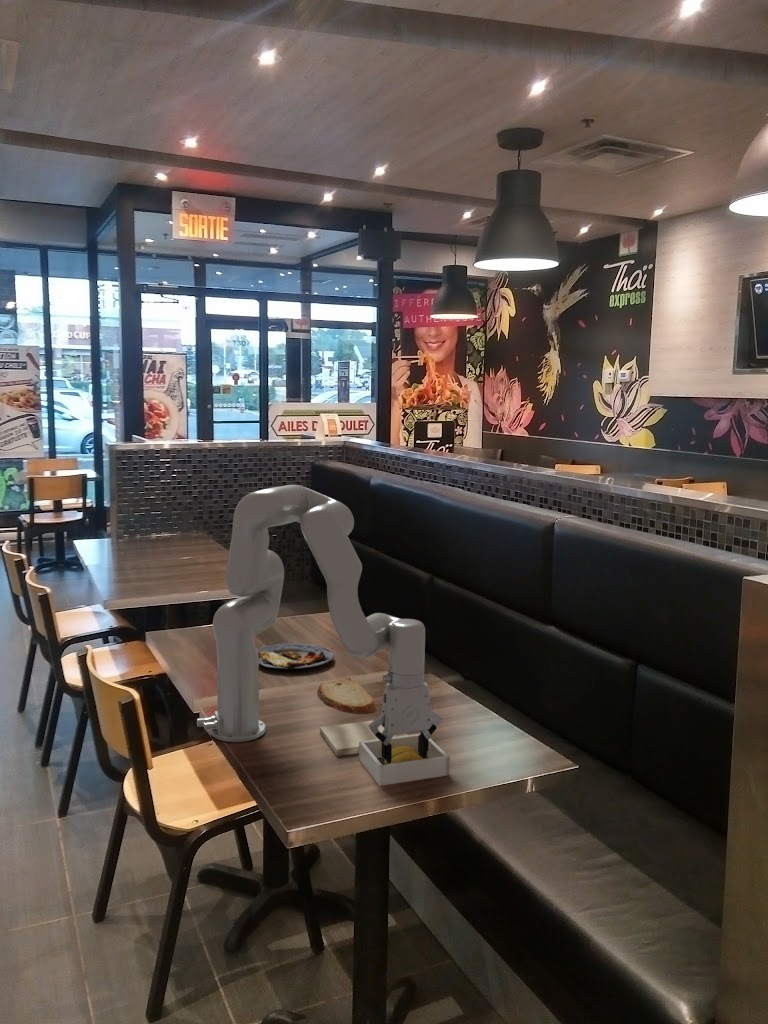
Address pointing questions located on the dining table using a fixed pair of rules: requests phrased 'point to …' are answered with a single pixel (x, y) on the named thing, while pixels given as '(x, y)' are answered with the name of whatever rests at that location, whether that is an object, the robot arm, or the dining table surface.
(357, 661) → the dining table surface
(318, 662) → the food plate
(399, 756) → the bread roll
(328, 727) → the birch board
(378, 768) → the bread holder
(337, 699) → the slice of bread
